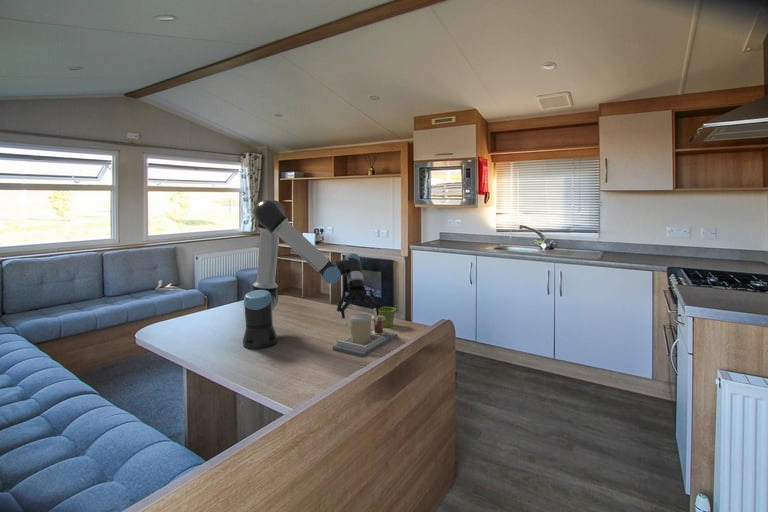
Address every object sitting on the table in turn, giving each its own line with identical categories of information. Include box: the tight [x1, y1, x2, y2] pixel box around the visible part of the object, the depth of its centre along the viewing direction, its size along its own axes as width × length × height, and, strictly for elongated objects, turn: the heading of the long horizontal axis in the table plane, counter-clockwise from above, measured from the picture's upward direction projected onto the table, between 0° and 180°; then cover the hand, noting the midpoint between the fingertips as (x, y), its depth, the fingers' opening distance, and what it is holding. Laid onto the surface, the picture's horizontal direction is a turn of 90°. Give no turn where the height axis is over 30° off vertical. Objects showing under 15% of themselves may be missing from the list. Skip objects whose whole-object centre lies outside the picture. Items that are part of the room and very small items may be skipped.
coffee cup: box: [349, 313, 372, 346], centre depth 180 cm, size 9×9×12 cm
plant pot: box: [378, 306, 397, 328], centre depth 209 cm, size 9×9×9 cm
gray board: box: [332, 328, 399, 358], centre depth 184 cm, size 28×16×4 cm, turn 147°
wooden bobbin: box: [370, 315, 386, 336], centre depth 192 cm, size 6×6×8 cm
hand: (361, 323), depth 182 cm, fingers open, 13 cm apart
